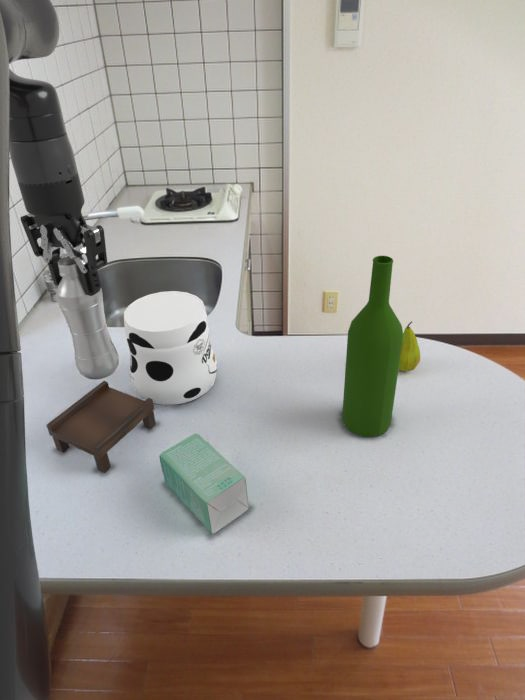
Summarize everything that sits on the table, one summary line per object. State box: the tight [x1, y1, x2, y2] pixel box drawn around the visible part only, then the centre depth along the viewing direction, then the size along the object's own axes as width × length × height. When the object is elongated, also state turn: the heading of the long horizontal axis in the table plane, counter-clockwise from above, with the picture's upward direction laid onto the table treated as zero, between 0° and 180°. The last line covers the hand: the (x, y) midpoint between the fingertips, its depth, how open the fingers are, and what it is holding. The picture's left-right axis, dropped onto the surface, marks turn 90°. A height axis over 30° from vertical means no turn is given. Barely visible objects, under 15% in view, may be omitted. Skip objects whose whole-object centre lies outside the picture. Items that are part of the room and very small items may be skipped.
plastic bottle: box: [55, 255, 120, 380], centre depth 80 cm, size 6×7×20 cm
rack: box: [45, 380, 157, 474], centre depth 94 cm, size 14×12×6 cm
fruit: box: [398, 320, 421, 372], centre depth 107 cm, size 6×6×12 cm
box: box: [158, 433, 250, 535], centre depth 82 cm, size 7×14×8 cm, turn 41°
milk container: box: [123, 290, 218, 407], centre depth 103 cm, size 17×17×18 cm
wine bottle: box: [341, 255, 404, 438], centre depth 88 cm, size 9×9×32 cm
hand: (77, 288), depth 77 cm, fingers closed on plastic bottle, 6 cm apart
